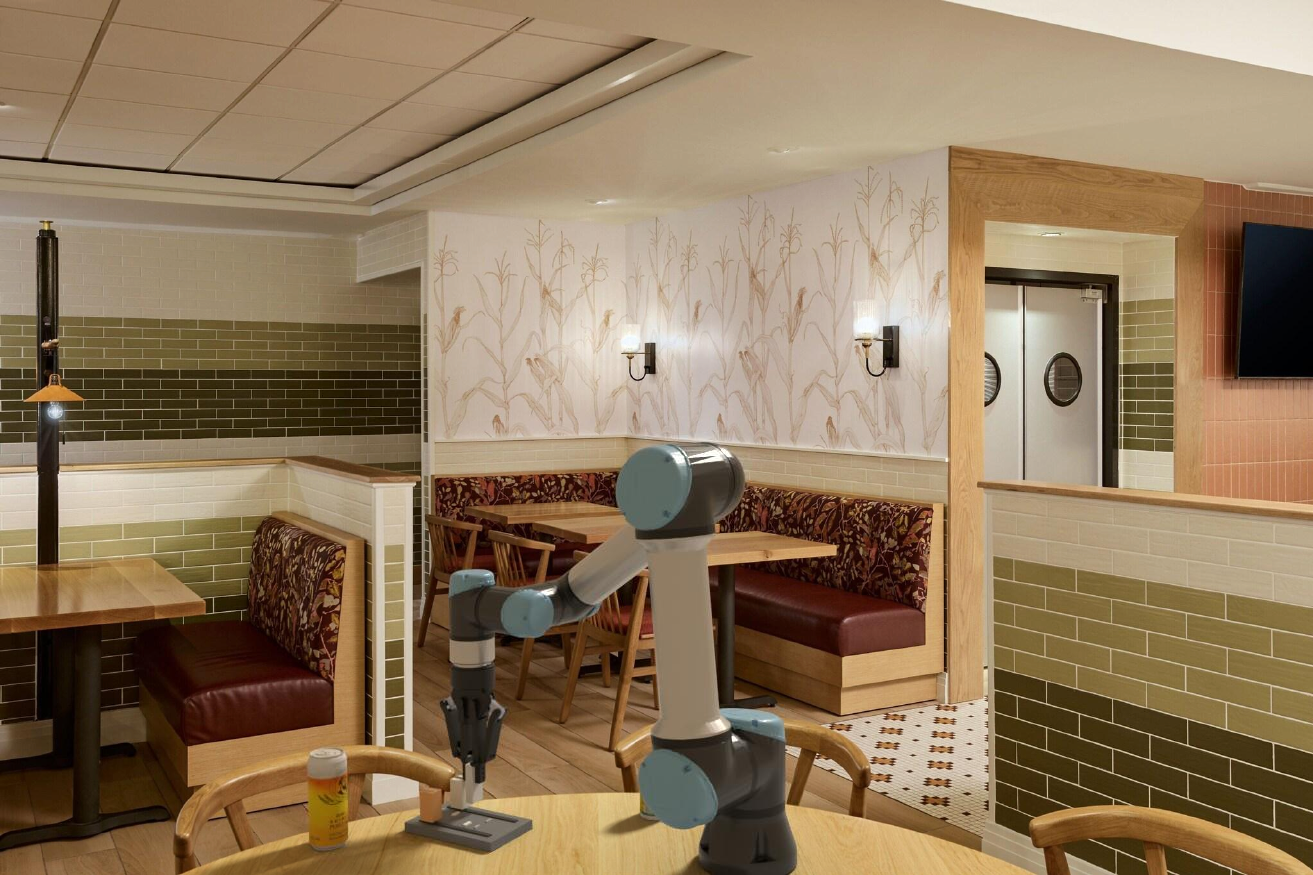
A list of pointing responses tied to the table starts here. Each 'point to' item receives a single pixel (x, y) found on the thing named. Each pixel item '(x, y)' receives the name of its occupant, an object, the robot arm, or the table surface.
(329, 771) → the beer can
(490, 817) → the console
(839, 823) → the table surface
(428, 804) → the orange fader
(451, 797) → the cream fader
